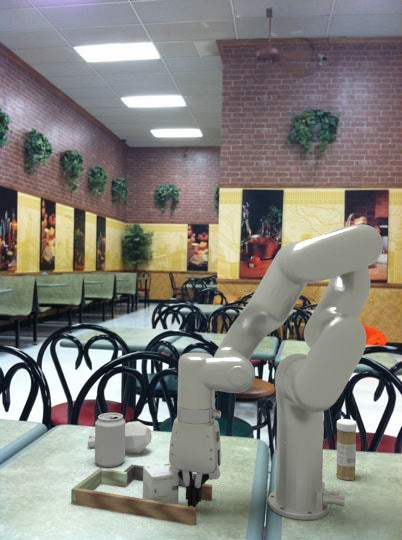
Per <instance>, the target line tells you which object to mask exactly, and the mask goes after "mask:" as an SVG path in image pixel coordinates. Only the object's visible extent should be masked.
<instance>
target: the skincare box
mask: <svg viewBox="0 0 402 540" xmlns="http://www.w3.org/2000/svg"><path fill="white" fill-rule="evenodd" d="M145 466H146V465H145ZM169 467H170V464H169V462H167V463H161V464H154V465H147V466H146V467H143V481H142V499H148V500H154V501H160V502H166V503H172V504H178V505H179V488H180V487H179V476H178V474H176V473H172V472H170V471H169Z"/></svg>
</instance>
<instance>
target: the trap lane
mask: <svg viewBox="0 0 402 540" xmlns="http://www.w3.org/2000/svg"><path fill="white" fill-rule="evenodd" d="M143 467H146V465H145V466H144V465H138V464H137V465H136V464H131V465H129V466H128V467H127V468H126V469H124V471H121V470H114V469H108V468H103V467H100V468H98V469H96V470H95V471H94V472H92V473H91V474H90V475H89V476H87V477H85V478H84V479H83V480H82V481H81V482H79V483H78V484H76V485H75V486H74V487H72V488H71V489H70V490H71V492H70V493H71V494H70V495H71V496H70V505H71V504H72V505H75V506H81V507H87V508H92V509H98V510H105V511H111V512H117V513H122V514H128V515H133V516H139V517H145V518H151V519H155V520H162V521H168V522H173V523H179V524H183V525H189V526H195V525H197V510H198V509H197V506H196V507H193V506H187V505H183V504H179V503H178V504H172V503H166V502H160V501H154V500H148V499H143V497H141V498H140V497H135V496H130V495H123V494H117V493H111V492H103V491H98V490H95V489H96V488H98V486H101V484H102V485H108V486H109V485H110V486H114V487H115V486H116V487H121V488H126V487H127V486H128V485H130V483H132V482H133V481H134V480H135V481H140V482H141V481H142V482H143ZM196 474H197V473H196V472H193V480H194V481H195V480H196ZM181 487H182V488H186V486H185V485H184V482H183V481H182V479H181V478H180V477H179V488H181ZM202 500H203V501H210V502H211V501H212V500H213V484H209V483H206V482H205V483H204V484H203V485H202V499H201V501H202Z"/></svg>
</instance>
